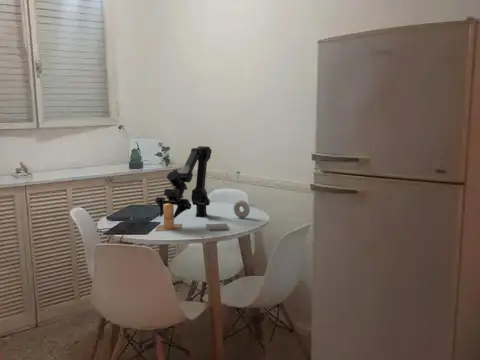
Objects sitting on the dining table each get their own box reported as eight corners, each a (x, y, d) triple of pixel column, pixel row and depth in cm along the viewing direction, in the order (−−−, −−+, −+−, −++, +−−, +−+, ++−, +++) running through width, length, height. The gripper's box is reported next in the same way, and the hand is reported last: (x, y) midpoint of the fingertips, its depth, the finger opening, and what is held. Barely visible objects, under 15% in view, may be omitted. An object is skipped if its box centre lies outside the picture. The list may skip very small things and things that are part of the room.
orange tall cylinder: (164, 226, 253) (163, 203, 251) (174, 226, 254) (173, 203, 252) (163, 228, 248) (163, 205, 246) (174, 228, 249) (173, 205, 247)
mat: (205, 226, 257) (205, 224, 257) (226, 225, 258) (226, 223, 258) (206, 231, 246) (206, 229, 246) (228, 230, 248) (228, 228, 247)
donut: (232, 217, 276) (232, 200, 274) (235, 216, 279) (235, 198, 277) (247, 219, 270) (247, 201, 269) (251, 218, 273) (250, 200, 272)
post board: (157, 226, 257) (156, 218, 256) (182, 225, 258) (182, 217, 257) (155, 233, 244) (155, 224, 243) (182, 232, 245) (181, 223, 245)
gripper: (156, 181, 255) (144, 206, 246) (187, 183, 247) (177, 209, 239) (165, 194, 263) (154, 218, 255) (195, 196, 256) (185, 221, 247)
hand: (167, 217), depth 249 cm, fingers open, 8 cm apart
